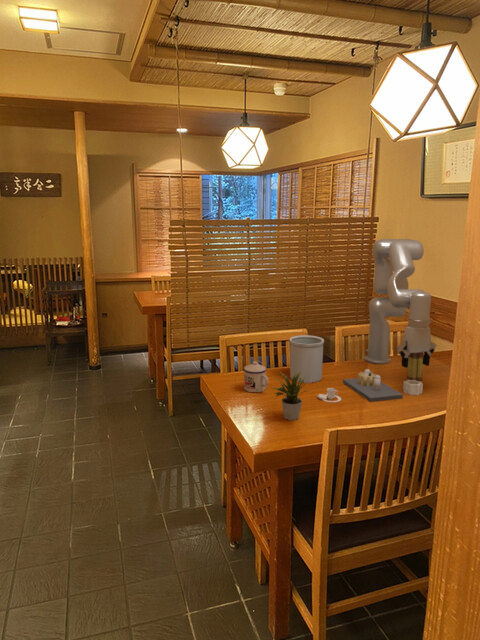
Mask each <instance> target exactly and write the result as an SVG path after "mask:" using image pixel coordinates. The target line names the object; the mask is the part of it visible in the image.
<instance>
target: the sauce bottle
mask: <svg viewBox="0 0 480 640" xmlns="http://www.w3.org/2000/svg"><path fill="white" fill-rule="evenodd" d="M423 355H424V352H419V353H410V354H409V356H408V357H407V358H408V368H406V369H407V371H406V377H407V380H416V381H421V382H422V380H423V379H422V377H423V371H424V370H423V369H424V368H423V367H424V364H423Z"/></svg>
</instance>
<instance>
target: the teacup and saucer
mask: <svg viewBox="0 0 480 640" xmlns="http://www.w3.org/2000/svg"><path fill="white" fill-rule="evenodd" d="M336 392H337V393H336ZM338 394H339V391H338V389H337V390H336V388H334V387H328V388H327V389H326V394H321V393H319V394H318V395H317V398H318V399H320V400H322V401H324V402H327V403H338V402H341V401H342V397H341V396H339V395H338ZM335 398H337V400H334V399H335ZM327 399H328V400H327ZM332 400H333V401H332Z"/></svg>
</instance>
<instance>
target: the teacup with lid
mask: <svg viewBox="0 0 480 640" xmlns="http://www.w3.org/2000/svg"><path fill="white" fill-rule="evenodd" d="M266 372H267V369H266V367H265V366H264V365H262V364H259V363H258V361H252V363H250V364H248V365H245V366H244V367H243V373H244V375H243V376H244V377H243V378H244V380H243V382H244V383H243V384H244V385H243V388H244V391H246V392H249V393H252V392H258V393H261V392H264V391H265V390H266V387H268V385H269V382H270V381H269V378H268V376H267V375H266Z"/></svg>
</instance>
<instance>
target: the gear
mask: <svg viewBox="0 0 480 640" xmlns="http://www.w3.org/2000/svg"><path fill="white" fill-rule="evenodd" d="M402 383H403V385H402V391H403V393H404V394H408V395H410V396H415V395H416V396H419V395H422V394H423V387H424V383H423V382H422V380H421V381H416V380H409V379H406V380H403V382H402Z"/></svg>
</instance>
